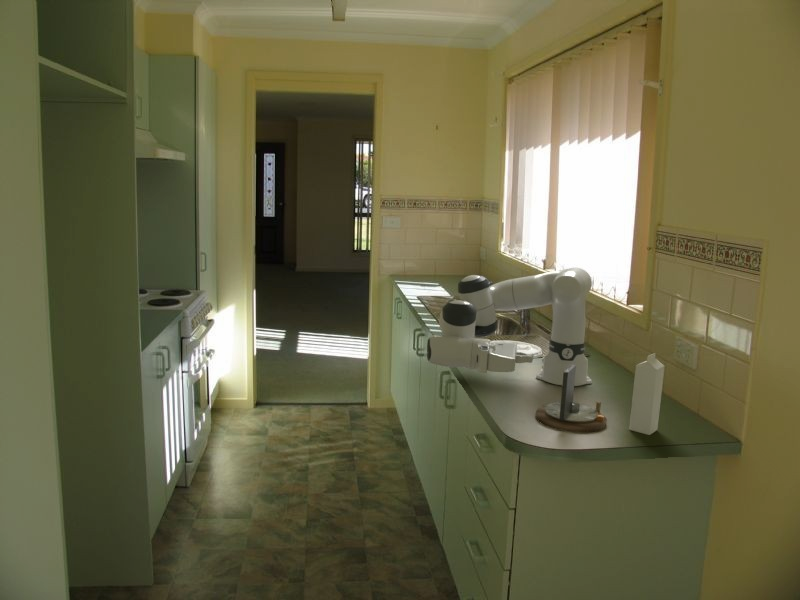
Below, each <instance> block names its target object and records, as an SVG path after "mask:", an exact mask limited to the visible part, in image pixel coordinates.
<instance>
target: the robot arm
mask: <svg viewBox="0 0 800 600" xmlns="http://www.w3.org/2000/svg"><path fill="white" fill-rule="evenodd" d="M592 282H593V281H592V276H591V275H590V273H588V272H587V271H586V270H585V269H583V268H581V267H568V268H564V269H563V268H562V269H559V270H553V271H549V272H545V273H539V274H535V275H534V274H533V275H528V276H523V277H518V278H517V277H516V278H509V279H507V280H502V281H499V282H497V283H494V282H493V281H492V280H489V279H488V278H487V277H485V276H483V275H481V274H471V275H467V276H465V277H463V278H462V279H460V280H459V282H457V293H458V294H459V298H453V299H450V300H448V302H447V303H446V304H444V306H442V309H441V311H440V314H439V317H438V325H439V328H440V331H441V335H438V336H436V335H434V336H429V337H428V339H427V344H426V360H427V361H428V362H429V363H430V364H433V365H436V366H441V367H449V368H455V369H456V368H466V369H469V370H476V371H478V372H479V373H481V374H483V373H484V374H485V373H488V372H493V373H512V372H514V371H515V370H516V364H523V363H529V364H530V363H533V360H534V359H533V355H532V354H526V353H523V352H516V351H517V344H514V343H498V342H496V343H492V344H490V341H491V339H489V338H486V337H488V336H491V335H493V334H495V333H496V331H497V330H498V319H497V314H496V311H503V312H507V311H510V312H511V311H520V310H528V309H533V308H540V307H544V306H548V305H552V322H551V323H552V324H551V325H552V326H551V337H550V339H549V343H548V352H547V353H546V354H544V356H543V357H542V359H541V364H542V365H541V369H540V370H539V371H538V373H537V374H536V377H535V378H536V379H538V380H541V381H544V382H547V383H550V384H553V385H557V386H562V385H563V374H564V371H565V370H566V369H567V368H569V367H570V366H571V365H576V373H575V384H574V387H579V386H583V385H591V384H592V383H593V382H592V381H593V380H592V379H591V378H590V377H589V375H588V367H589V365H588V364H589V359H588V358H587V357H586V356H585V354H584V353H585V349H586V343H585V334H586V333H585V332H586V325H587V324H586V323H587V317H586V300H587V298H586V297H587V295H588V294H589V293H590V291H591V289H592V285H593V283H592Z"/></svg>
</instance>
